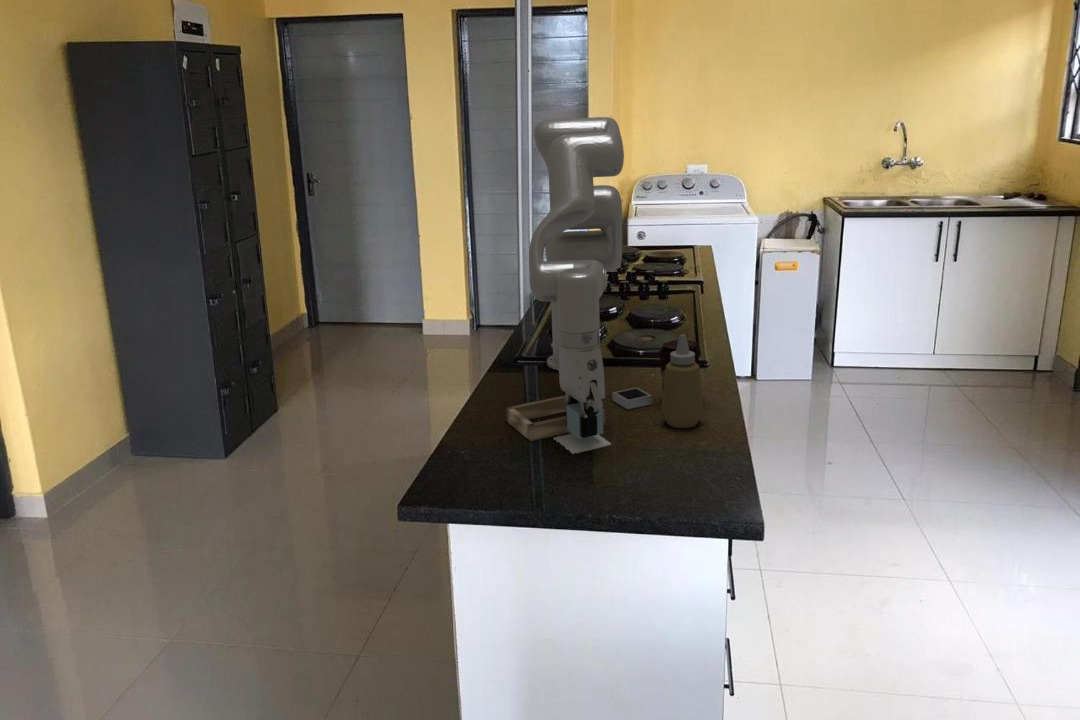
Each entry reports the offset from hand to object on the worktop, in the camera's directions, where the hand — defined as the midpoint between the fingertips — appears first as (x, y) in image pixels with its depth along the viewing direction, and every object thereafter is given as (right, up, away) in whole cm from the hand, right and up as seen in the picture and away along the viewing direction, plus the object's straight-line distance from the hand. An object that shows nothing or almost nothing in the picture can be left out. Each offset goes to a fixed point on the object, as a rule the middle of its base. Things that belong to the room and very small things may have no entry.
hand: (581, 429), depth 162 cm
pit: (+11, +4, +19) cm, 22 cm away
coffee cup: (+21, +4, +17) cm, 28 cm away
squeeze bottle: (+20, 0, +7) cm, 21 cm away
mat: (0, -2, +1) cm, 2 cm away
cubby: (-4, +1, +10) cm, 11 cm away
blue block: (+1, 0, 0) cm, 1 cm away
